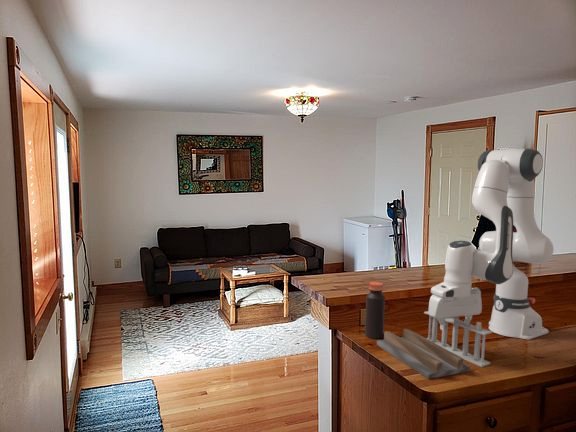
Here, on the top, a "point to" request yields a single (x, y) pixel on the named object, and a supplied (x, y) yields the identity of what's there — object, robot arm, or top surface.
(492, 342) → the top surface
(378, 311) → the bottle
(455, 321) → the test tube rack
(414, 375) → the top surface
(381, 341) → the cradle
